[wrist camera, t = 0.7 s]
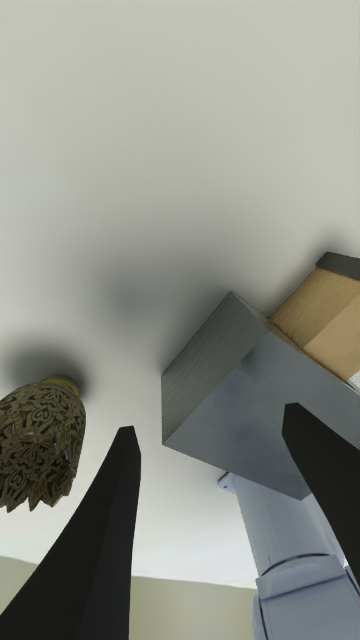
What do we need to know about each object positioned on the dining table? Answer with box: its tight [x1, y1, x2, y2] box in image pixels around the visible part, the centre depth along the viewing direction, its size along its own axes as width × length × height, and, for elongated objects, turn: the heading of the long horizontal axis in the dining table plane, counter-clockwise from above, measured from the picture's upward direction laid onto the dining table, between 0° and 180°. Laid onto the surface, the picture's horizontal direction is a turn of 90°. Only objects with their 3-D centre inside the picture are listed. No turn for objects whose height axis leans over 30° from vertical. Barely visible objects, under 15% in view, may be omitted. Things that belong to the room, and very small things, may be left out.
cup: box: [0, 376, 86, 513], centre depth 17 cm, size 8×7×8 cm
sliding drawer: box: [269, 252, 360, 382], centre depth 18 cm, size 6×10×6 cm, turn 144°
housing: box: [161, 291, 360, 501], centre depth 19 cm, size 14×10×7 cm
